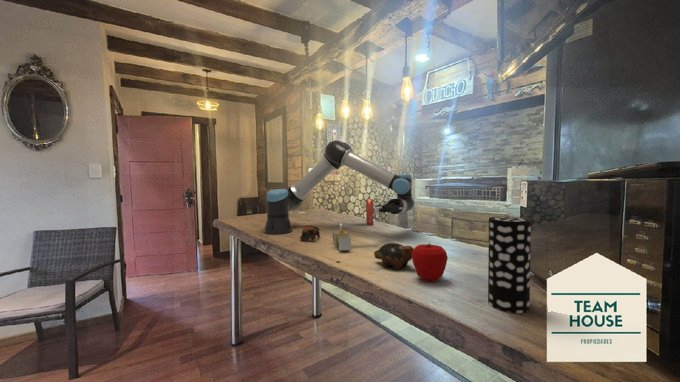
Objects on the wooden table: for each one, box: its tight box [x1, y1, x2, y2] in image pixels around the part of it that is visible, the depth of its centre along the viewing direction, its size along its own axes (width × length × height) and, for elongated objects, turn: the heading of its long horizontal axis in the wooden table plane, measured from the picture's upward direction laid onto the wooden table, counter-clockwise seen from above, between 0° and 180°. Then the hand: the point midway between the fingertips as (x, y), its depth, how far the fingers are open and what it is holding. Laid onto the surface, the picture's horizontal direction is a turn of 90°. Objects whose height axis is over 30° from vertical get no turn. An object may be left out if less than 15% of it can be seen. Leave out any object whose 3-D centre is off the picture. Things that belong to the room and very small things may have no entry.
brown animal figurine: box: [299, 224, 321, 243], centre depth 139 cm, size 12×10×8 cm
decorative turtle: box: [373, 242, 415, 271], centre depth 97 cm, size 10×15×8 cm, turn 53°
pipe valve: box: [332, 227, 352, 252], centre depth 125 cm, size 19×6×8 cm, turn 9°
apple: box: [411, 242, 449, 283], centre depth 84 cm, size 10×10×11 cm
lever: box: [337, 199, 374, 228], centre depth 125 cm, size 15×3×11 cm, turn 95°
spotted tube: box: [487, 216, 532, 314], centre depth 67 cm, size 8×8×20 cm
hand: (373, 211), depth 126 cm, fingers closed
